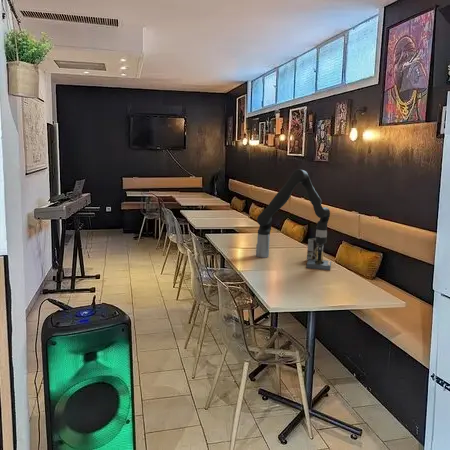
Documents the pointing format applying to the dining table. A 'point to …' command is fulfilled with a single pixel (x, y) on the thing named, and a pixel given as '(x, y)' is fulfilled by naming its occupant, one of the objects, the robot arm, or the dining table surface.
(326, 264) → the plate
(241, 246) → the dining table surface
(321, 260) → the translucent olive cylinder
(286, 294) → the dining table surface
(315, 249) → the coffee box
